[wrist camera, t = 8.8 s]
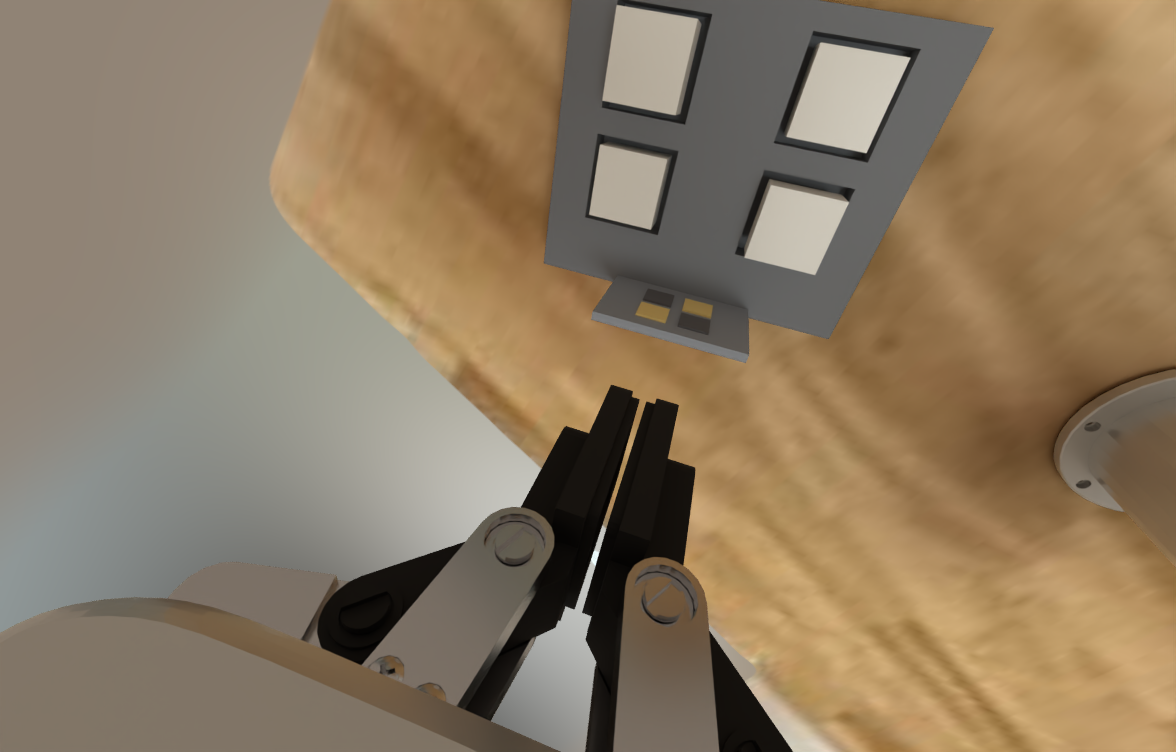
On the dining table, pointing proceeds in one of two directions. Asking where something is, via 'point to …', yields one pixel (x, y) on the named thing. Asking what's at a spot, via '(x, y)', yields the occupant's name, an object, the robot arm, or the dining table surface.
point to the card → (676, 317)
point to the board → (748, 149)
